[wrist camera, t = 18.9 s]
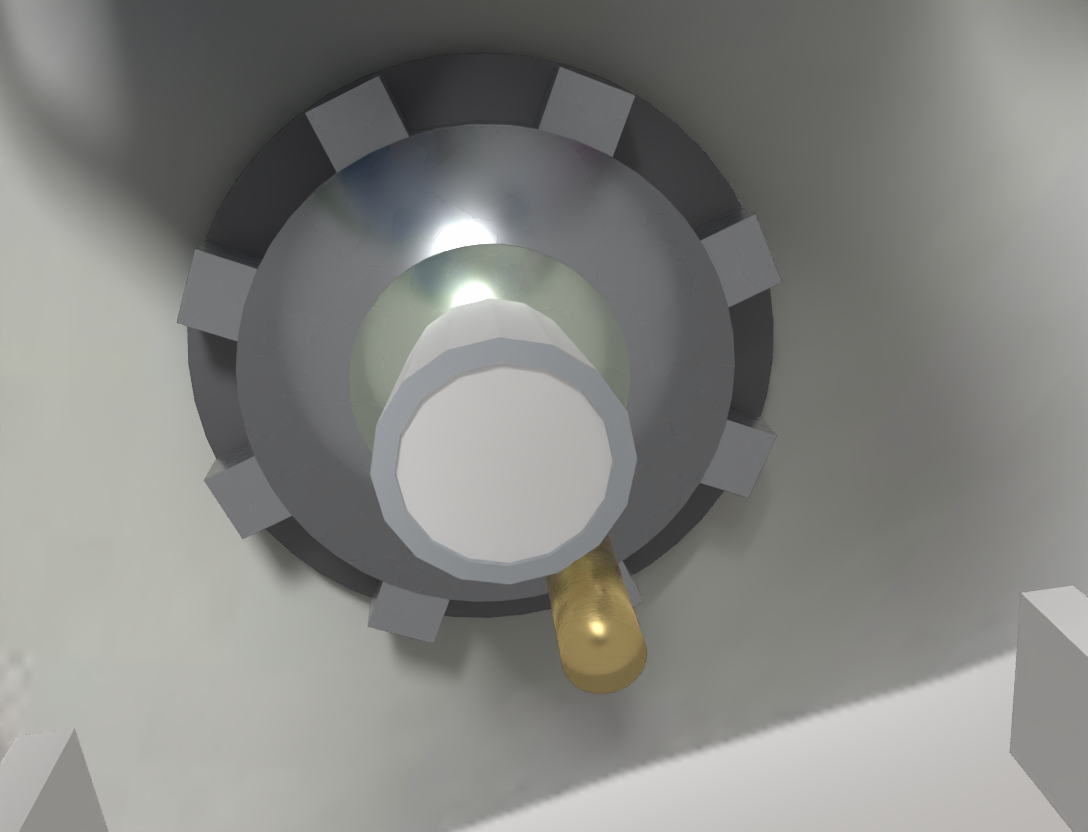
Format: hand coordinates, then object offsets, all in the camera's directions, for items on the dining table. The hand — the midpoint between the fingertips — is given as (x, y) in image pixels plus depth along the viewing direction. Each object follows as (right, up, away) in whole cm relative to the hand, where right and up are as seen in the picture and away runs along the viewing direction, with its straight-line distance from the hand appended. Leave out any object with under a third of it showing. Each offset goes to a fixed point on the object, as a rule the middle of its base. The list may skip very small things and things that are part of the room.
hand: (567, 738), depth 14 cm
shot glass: (-2, +6, +19) cm, 19 cm away
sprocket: (-2, +6, +20) cm, 21 cm away
